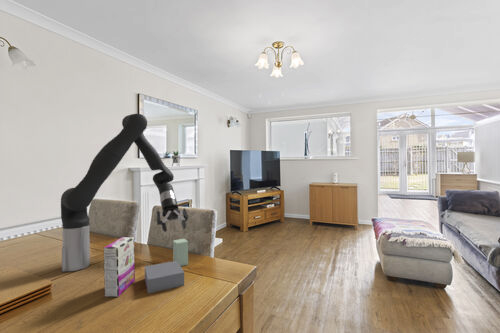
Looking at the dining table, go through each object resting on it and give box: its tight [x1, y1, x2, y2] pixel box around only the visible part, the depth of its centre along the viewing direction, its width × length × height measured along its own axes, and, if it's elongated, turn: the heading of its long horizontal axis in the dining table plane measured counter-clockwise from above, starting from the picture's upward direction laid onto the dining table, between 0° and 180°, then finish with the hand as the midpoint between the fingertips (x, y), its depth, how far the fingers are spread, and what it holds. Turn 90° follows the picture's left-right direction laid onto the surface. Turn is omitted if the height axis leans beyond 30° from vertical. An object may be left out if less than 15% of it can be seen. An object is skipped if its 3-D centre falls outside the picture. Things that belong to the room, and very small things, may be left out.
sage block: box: [172, 238, 189, 267], centre depth 106 cm, size 5×5×10 cm
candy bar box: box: [103, 236, 136, 298], centre depth 84 cm, size 11×5×16 cm, turn 179°
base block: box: [144, 261, 185, 294], centre depth 89 cm, size 12×12×5 cm
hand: (175, 229), depth 113 cm, fingers open, 8 cm apart
